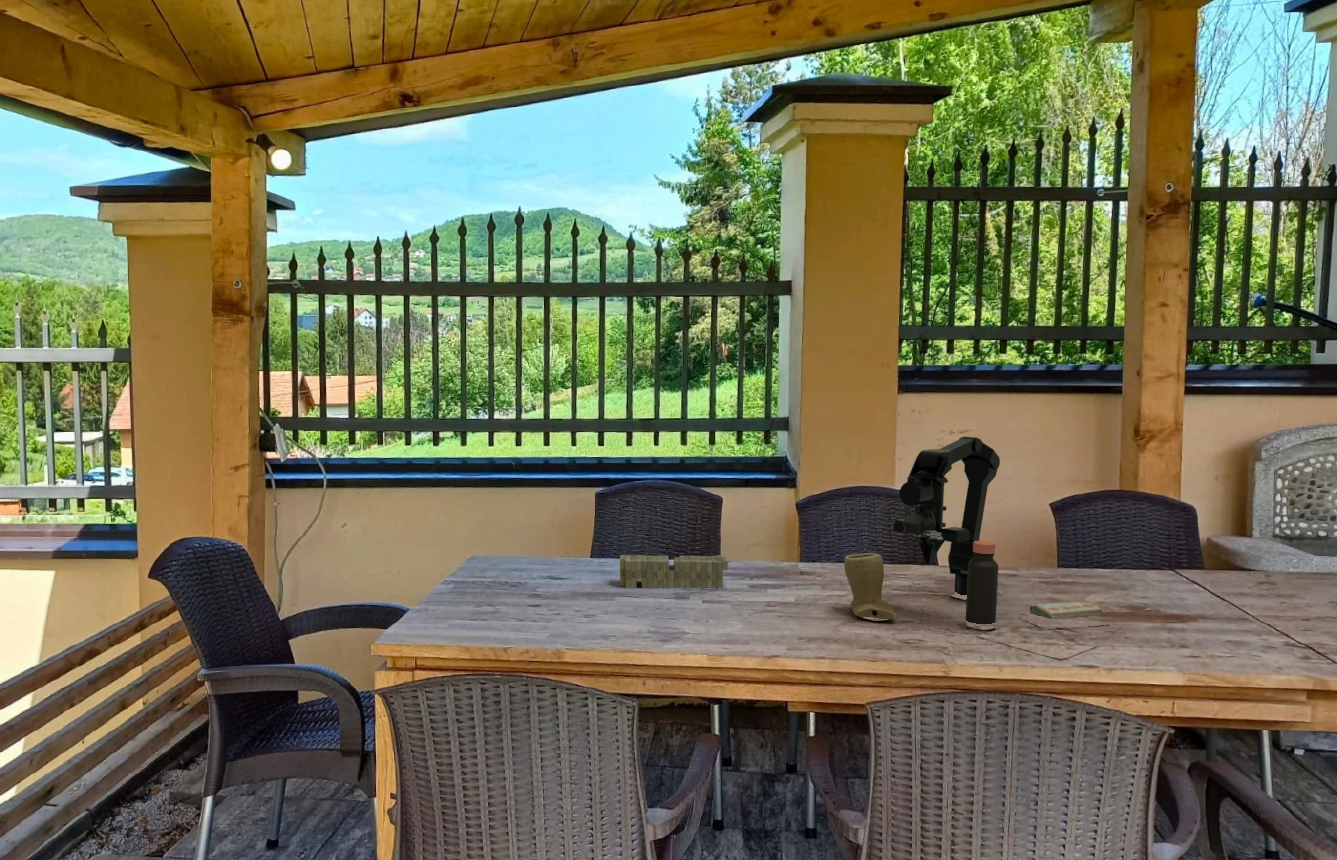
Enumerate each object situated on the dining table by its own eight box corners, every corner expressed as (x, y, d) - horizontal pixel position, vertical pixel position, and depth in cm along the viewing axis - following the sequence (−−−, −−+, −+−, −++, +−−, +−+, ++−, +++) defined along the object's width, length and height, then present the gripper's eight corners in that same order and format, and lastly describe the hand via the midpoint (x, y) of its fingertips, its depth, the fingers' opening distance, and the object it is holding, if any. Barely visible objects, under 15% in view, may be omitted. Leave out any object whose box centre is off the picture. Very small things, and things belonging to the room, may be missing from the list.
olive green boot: (840, 605, 231) (842, 547, 229) (888, 608, 229) (891, 549, 228) (845, 622, 216) (847, 559, 214) (896, 625, 214) (899, 562, 213)
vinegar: (997, 632, 210) (1001, 546, 209) (966, 629, 211) (971, 544, 210) (993, 624, 217) (997, 541, 215) (963, 621, 218) (967, 539, 217)
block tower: (619, 592, 243) (728, 590, 244) (619, 561, 242) (728, 559, 243) (620, 585, 251) (726, 583, 252) (620, 554, 250) (725, 553, 251)
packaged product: (1081, 597, 227) (1111, 608, 217) (1080, 616, 227) (1109, 628, 217) (1019, 601, 222) (1047, 612, 212) (1018, 620, 222) (1046, 632, 212)
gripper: (879, 499, 226) (877, 561, 227) (944, 510, 211) (941, 576, 212) (907, 496, 233) (905, 556, 234) (972, 506, 218) (969, 570, 219)
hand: (928, 564), depth 225 cm, fingers closed
